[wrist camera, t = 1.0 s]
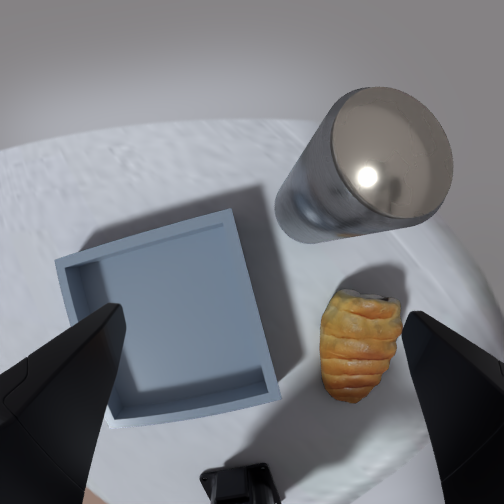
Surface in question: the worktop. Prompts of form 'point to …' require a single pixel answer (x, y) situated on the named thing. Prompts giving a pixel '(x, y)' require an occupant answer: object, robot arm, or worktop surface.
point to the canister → (367, 169)
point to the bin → (176, 321)
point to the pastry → (357, 342)
